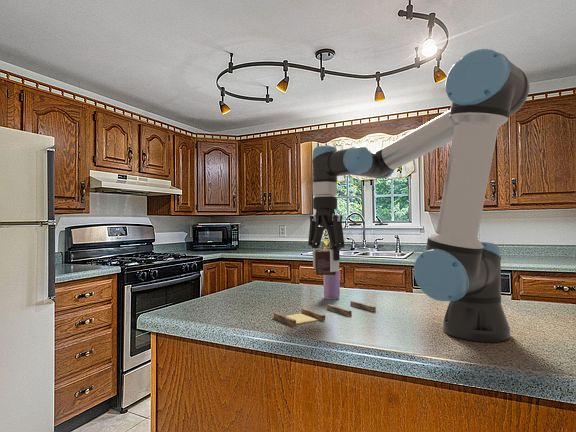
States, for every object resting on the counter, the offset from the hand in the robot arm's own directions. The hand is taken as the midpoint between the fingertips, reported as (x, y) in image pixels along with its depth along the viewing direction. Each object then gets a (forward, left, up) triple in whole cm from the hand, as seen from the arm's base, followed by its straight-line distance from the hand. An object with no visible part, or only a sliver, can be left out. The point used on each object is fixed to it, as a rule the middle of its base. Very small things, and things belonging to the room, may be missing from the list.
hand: (325, 269), depth 114 cm
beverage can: (+19, -17, -14) cm, 29 cm away
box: (0, 0, -2) cm, 2 cm away
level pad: (0, +10, -14) cm, 17 cm away
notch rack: (0, 0, -14) cm, 14 cm away
